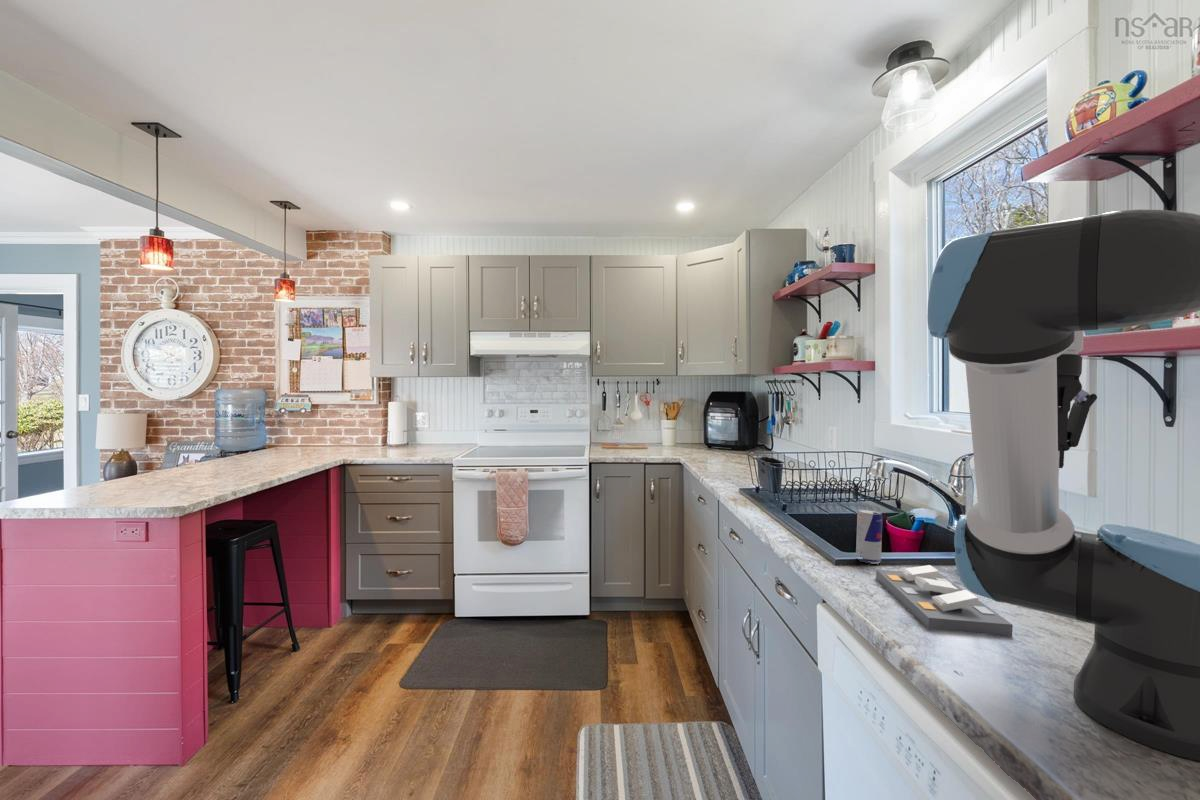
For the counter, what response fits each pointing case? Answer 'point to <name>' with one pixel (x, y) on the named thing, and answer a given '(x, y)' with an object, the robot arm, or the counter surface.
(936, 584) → the switch
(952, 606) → the switch
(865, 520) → the energy drink
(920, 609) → the switch panel
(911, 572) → the switch
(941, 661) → the counter surface
